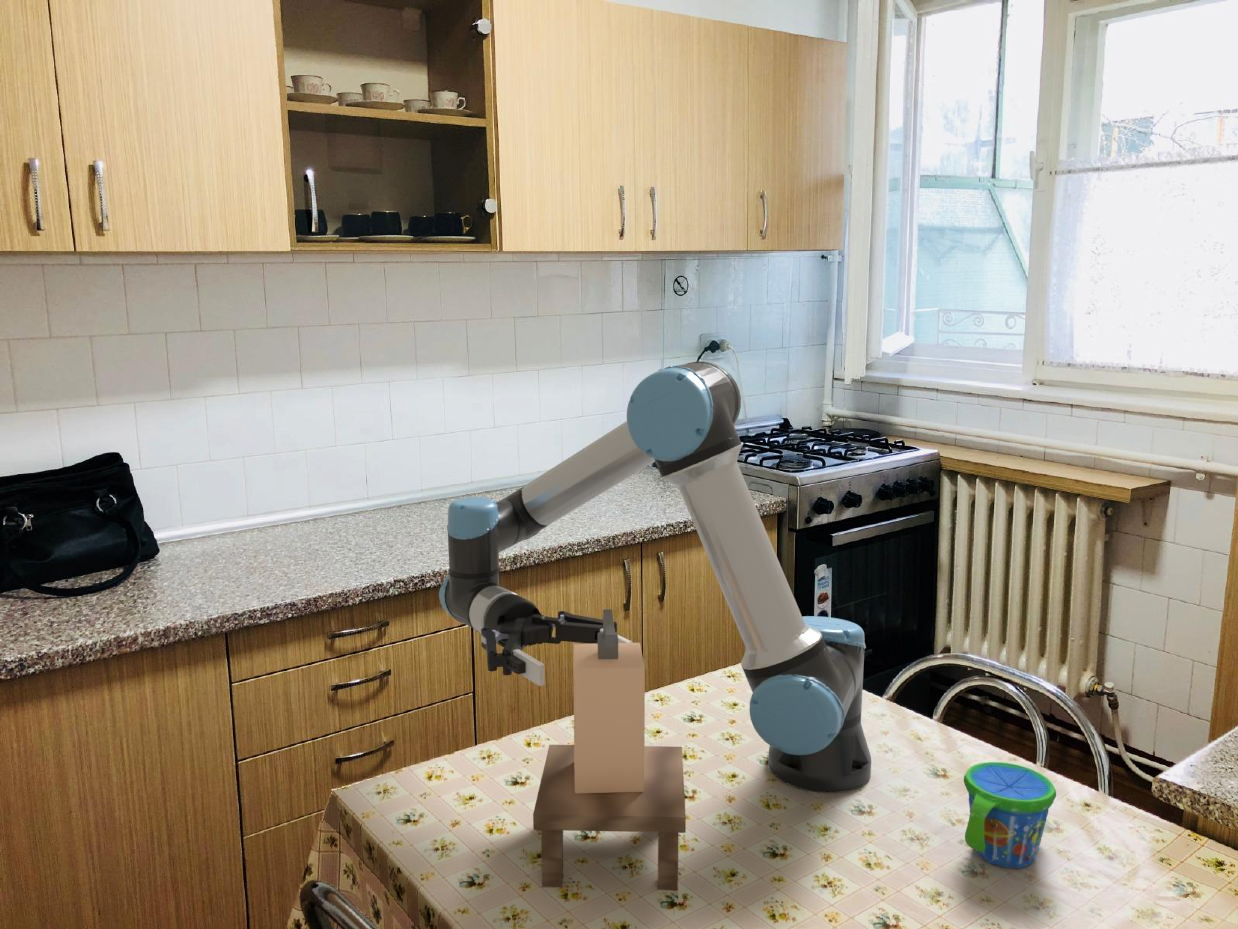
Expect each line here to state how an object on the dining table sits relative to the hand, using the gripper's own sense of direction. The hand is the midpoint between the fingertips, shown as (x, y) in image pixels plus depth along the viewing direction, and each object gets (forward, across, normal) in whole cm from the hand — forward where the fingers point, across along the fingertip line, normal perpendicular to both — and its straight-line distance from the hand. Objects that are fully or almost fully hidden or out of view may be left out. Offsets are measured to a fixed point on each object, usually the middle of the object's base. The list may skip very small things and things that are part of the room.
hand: (587, 663), depth 127 cm
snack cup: (+35, -40, -24) cm, 59 cm away
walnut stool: (+5, 0, -24) cm, 24 cm away
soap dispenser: (+6, +1, -14) cm, 15 cm away
